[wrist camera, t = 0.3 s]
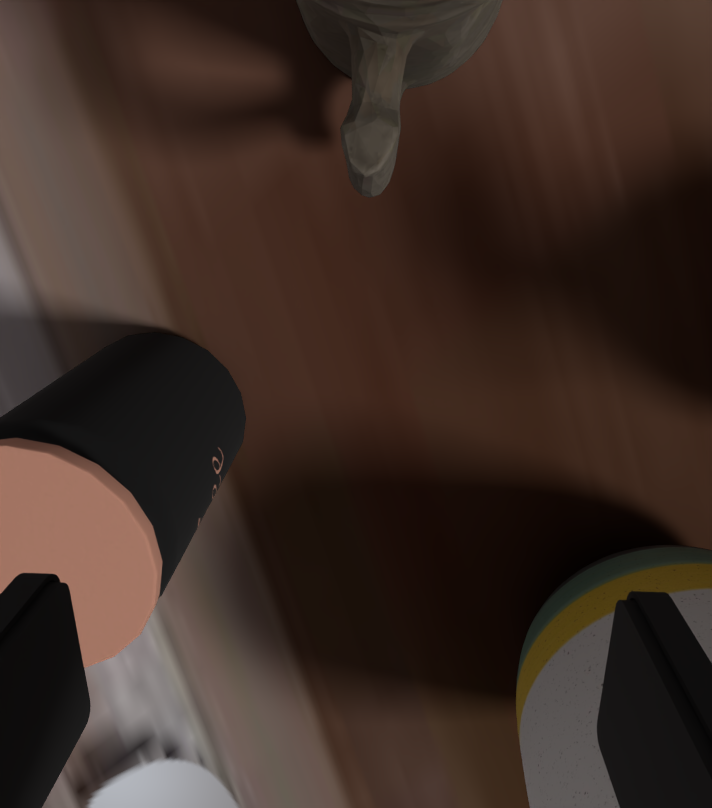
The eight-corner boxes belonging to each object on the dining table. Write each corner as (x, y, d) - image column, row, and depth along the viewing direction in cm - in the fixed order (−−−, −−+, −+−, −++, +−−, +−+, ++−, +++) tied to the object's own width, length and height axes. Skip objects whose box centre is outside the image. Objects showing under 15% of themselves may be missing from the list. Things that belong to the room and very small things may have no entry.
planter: (742, 448, 42) (1050, 712, 22) (804, 678, 48) (1091, 1049, 28) (451, 546, 46) (494, 847, 26) (542, 748, 52) (632, 1120, 32)
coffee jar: (160, 507, 46) (25, 710, 30) (54, 385, 44) (-162, 532, 27) (283, 428, 44) (211, 601, 27) (178, 294, 41) (26, 392, 24)
